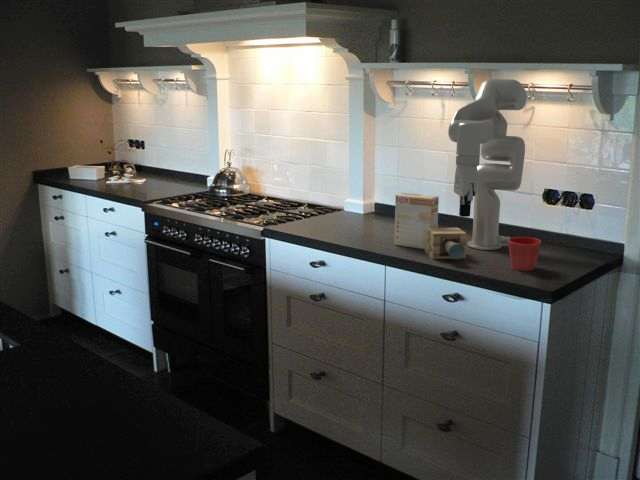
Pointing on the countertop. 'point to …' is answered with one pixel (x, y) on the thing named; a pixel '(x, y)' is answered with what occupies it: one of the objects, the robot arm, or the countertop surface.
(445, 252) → the block
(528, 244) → the flower pot
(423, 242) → the coffeecake box
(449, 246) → the peg
